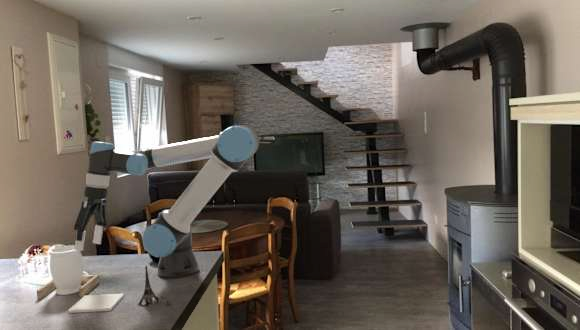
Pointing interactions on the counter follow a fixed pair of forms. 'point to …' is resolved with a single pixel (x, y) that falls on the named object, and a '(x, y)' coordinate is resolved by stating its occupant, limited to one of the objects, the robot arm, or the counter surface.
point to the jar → (66, 269)
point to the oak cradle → (89, 284)
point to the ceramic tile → (96, 303)
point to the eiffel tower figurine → (151, 295)
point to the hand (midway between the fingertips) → (88, 246)
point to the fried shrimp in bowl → (154, 258)
